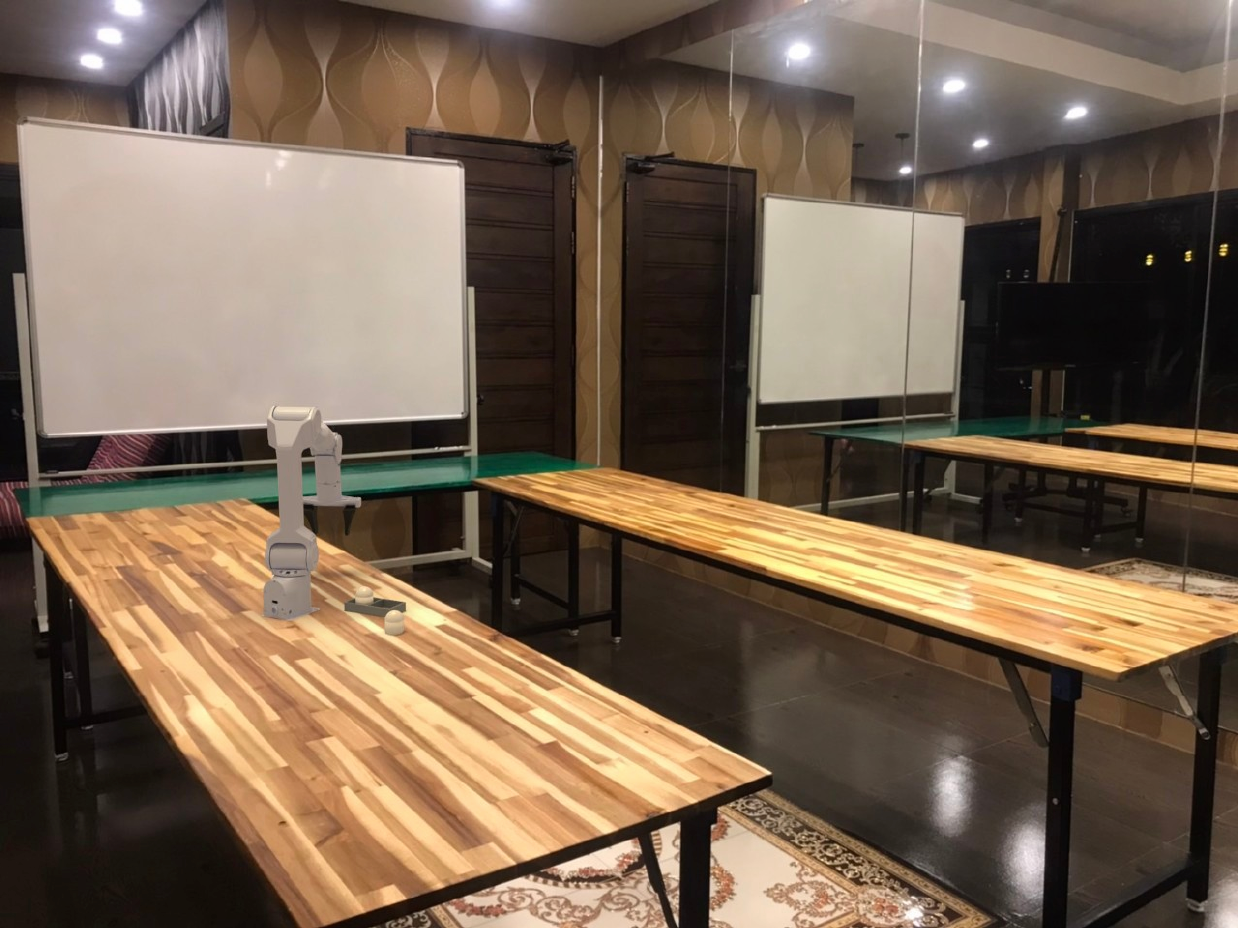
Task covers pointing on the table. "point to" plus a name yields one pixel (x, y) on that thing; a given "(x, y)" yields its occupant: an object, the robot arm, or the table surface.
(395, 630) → the cream rounded cylinder
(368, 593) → the carton egg
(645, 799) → the table surface
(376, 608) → the egg carton
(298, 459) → the robot arm
